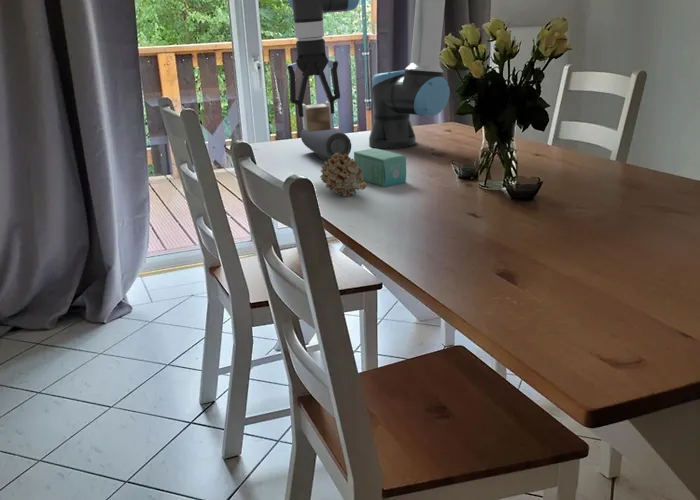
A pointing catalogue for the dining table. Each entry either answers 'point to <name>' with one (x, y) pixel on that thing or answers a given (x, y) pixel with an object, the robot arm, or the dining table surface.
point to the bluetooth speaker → (326, 142)
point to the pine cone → (342, 174)
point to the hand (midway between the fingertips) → (317, 127)
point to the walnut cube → (317, 117)
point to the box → (381, 167)
